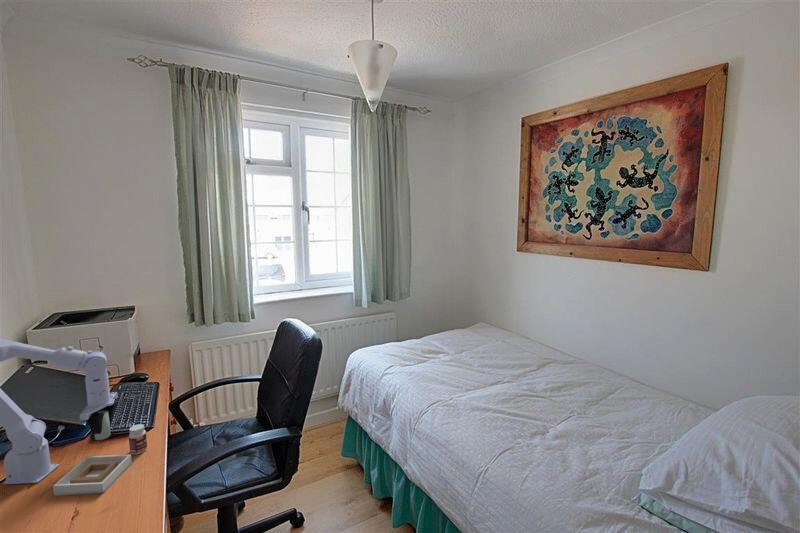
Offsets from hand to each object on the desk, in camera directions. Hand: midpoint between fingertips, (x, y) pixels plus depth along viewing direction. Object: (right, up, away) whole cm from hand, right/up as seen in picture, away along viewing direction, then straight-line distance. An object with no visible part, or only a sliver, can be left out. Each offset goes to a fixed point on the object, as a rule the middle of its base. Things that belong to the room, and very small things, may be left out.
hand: (102, 429), depth 123 cm
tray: (+6, -10, -10) cm, 16 cm away
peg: (0, -3, 0) cm, 2 cm away
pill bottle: (+10, -9, +3) cm, 13 cm away
